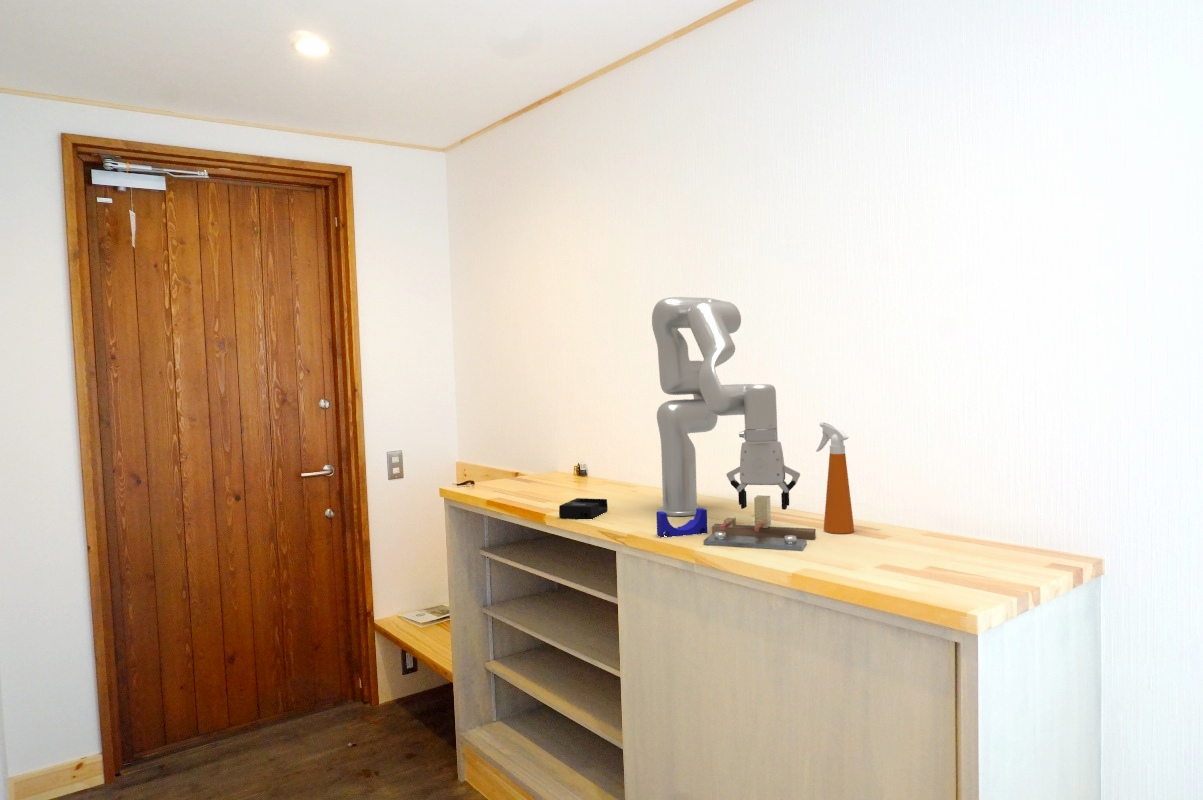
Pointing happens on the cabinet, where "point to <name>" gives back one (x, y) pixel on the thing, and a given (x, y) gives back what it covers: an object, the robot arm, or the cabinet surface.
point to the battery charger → (583, 508)
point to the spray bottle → (837, 483)
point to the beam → (762, 530)
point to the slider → (762, 512)
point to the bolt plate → (756, 541)
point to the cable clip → (689, 528)
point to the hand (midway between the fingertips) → (764, 508)
